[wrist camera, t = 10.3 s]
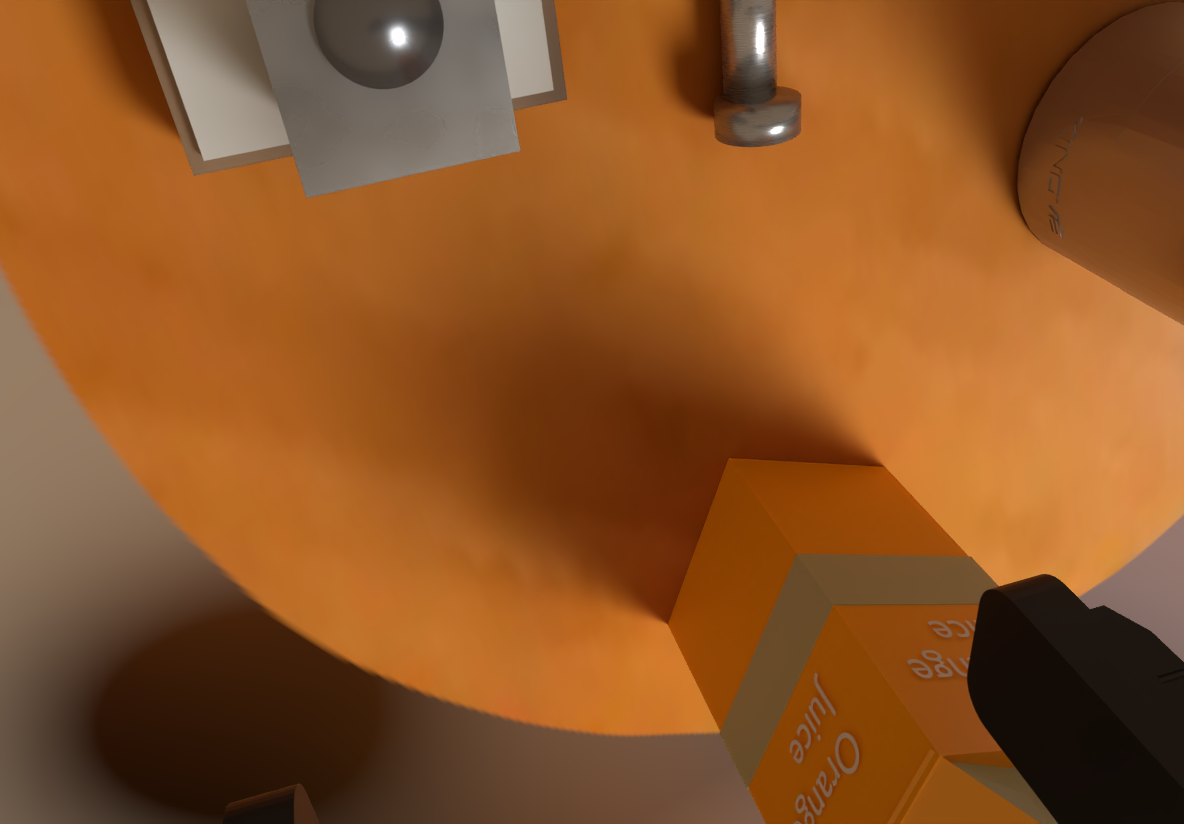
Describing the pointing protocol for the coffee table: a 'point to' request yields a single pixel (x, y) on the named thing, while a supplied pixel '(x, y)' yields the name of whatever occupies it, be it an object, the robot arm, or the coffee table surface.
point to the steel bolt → (753, 79)
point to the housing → (385, 86)
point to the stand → (242, 85)
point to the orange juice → (842, 651)
